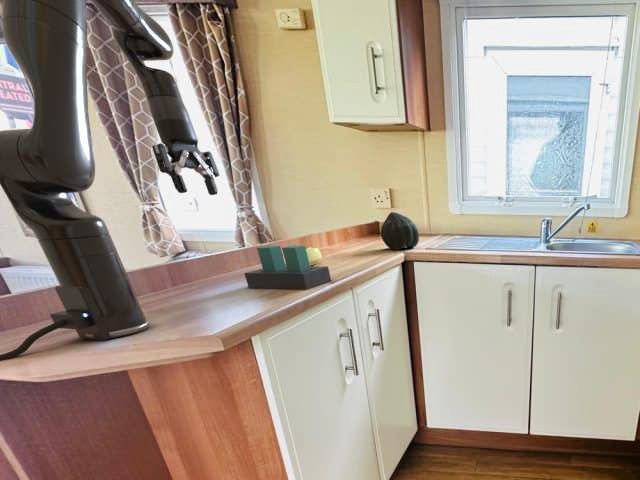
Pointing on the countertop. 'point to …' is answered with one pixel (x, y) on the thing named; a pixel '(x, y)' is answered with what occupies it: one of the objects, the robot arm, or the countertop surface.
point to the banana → (313, 255)
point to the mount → (288, 278)
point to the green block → (271, 258)
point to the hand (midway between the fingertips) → (199, 193)
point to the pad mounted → (296, 258)
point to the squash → (399, 232)
